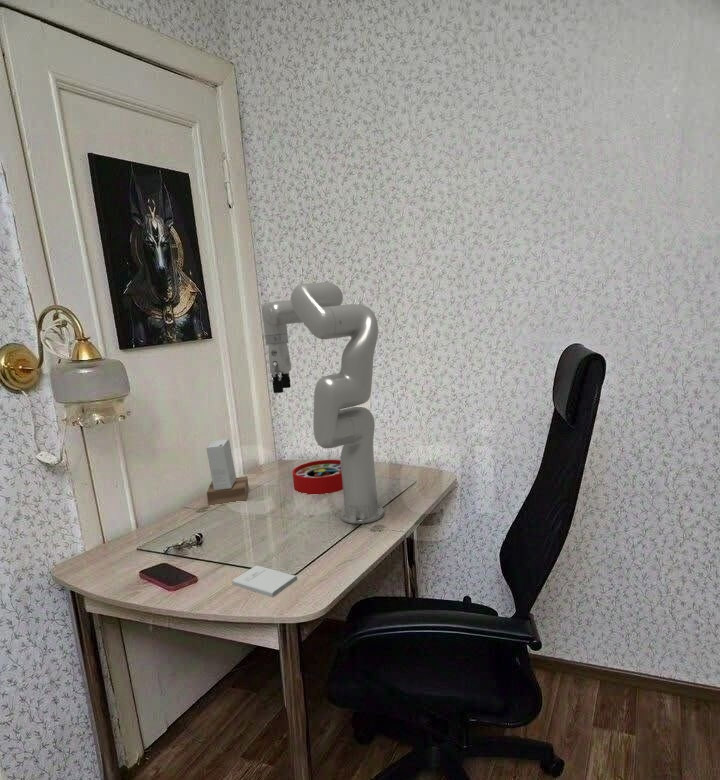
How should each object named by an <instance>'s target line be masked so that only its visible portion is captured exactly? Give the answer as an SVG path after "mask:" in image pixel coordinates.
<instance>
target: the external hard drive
mask: <svg viewBox="0 0 720 780" xmlns="http://www.w3.org/2000/svg"><path fill="white" fill-rule="evenodd" d="M297 580H298V577H297V575H294V574H291V573H287V572H283V571H279V570H276V569H272V568H268V567H265V566H260V565H257V564H256V565H255V566H253V567H251V568H250V569H248V570H246V571H245V572H243V573H242V574H240V575H238V576H237V577H235V578H234V579H232V581H231V584H232V585H233V586H237V587H239V588H242V589H245V590H249V591H251V592H254V593H255V592H256V593H258V594H262V595H265V596H268V597H271V598H274V597H275V596H276V595H278V594H279V593H281V592H282V591H283V590H285V589H286V588H287V587H288V586H289V587H290V585H292V584H293V583H295V581H297Z"/></svg>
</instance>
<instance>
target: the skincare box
mask: <svg viewBox="0 0 720 780" xmlns="http://www.w3.org/2000/svg"><path fill="white" fill-rule="evenodd" d="M231 448H232V447H231V443H230V439H229V438H225V439H224V438H223V439H215V440H211V442H210V443H209V444H208V446H207V447H206V448H205V449H206V453H207V459H208V464H209V471H210V475H211V482H212V481H213V487H214V490H222V489H230V488H232V486H233V484H234V483H235V481H236V478H237V476H236V471H235V464H234V460H233V459H234V458H233V453H232V449H231Z"/></svg>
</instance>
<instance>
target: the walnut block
mask: <svg viewBox="0 0 720 780" xmlns="http://www.w3.org/2000/svg"><path fill="white" fill-rule="evenodd" d="M248 480H249V479H248V476H241V477H236V481H235V483H234V484H233V486H232V488H230V489H222V490H214V487H213V481H212V480H211V482H210V484H209V487H208V489H207V491H206V496H207V497H206V498H207V504H208V507H211V506H210V505H214V506H216V505H215V504H221V505H224V504H223V503H229V502H236V501H245V502H247V500H246V499H248V495H249V491H248V490H249V489H250V486H249V481H248ZM247 494H248V495H247ZM229 504H230V503H229Z"/></svg>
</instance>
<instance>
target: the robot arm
mask: <svg viewBox="0 0 720 780" xmlns="http://www.w3.org/2000/svg"><path fill="white" fill-rule="evenodd" d="M343 297H344V296H343V291H342V289H340V287H339V286H338V285H336V284H334V283H332V282H311V283H301V284H298V285H297V286H295V287H294V288H293V290H292V292H291V294H290V299H289V300H276V301H272V302H267V303H264V304H262V305H261V306H262V307H261V313H262V314H261V315H262V320H263V323H262V324H263V330H264V337H265V339H264V340H265V346H268V360H269V361H268V362H269V371H270V374H271V382H272V392H273V393H274V394H283V393H284V389H290V388H291V386H292V385H291V379H290V372H291V370H292V364H291V357H290V351H289V346H288V344H289V334H288V326H287V325H290V324H301V323H303V324H304V326H305V327H306V328H307V329H308V331H309V332H310V333H311V335H313V336H314V337H315V338H317V339H320V340H332V339H340V338H346V337H350V340H348V342H347V344H346V345H345V348H344V350H343V352H342V355H341V364H340V365H341V366H340V371H339V372H338V373H334V374H328V375H325V376H323V377H321V378H320V379H319V380H318V381H317V383H316V385H315V386H314V392H313V393H314V394H313V420H312V421H313V425H312V426H313V428H312V429H313V435H314V436H313V437H314V439H315V442H316V443H317V444H318V446H320V447H321V448H322V449H333V448H337V447H342V448H341V452H340V455H339V456H340V458H339V460H340V463H341V474H342V484H343V490H342V493H343V503H344V508H343V509H342V510H341V511H340V513H339V518H340V520H341V521H343V522H345V523H346V524H347V523H348V524H353V525H354V524H356V525H359V524H360V525H361V524H362V525H363V524H368V523H373V522H376V521H378V520H380V519H381V518H382V517H384V515H385V514H384V513H385V510H384V508H383V507H382V506H381V505H378V494H377V493H378V492H377V483H376V482H377V481H376V471H375V456H374V436H375V427H376V425H375V418H374V416H373V413H372V412H371V411H370V410H369V409H368V408H366V407H363V406H360V405H363V404H366V403H367V402H368V401H369V400H370V397H371V394H372V386H373V385H372V384H373V382H372V381H373V368H374V356H375V355H374V354H375V351H376V345H377V342H378V336H379V326H378V325H379V324H378V320H377V317H376V315H375V312H374V311H373V310H372V309H371V308H370V307H368V306H367V305H363V304H359V303H358V304H355V303H353V304H351V303H350V304H349V303H348V304H342V303H343V300H344V298H343Z"/></svg>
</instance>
